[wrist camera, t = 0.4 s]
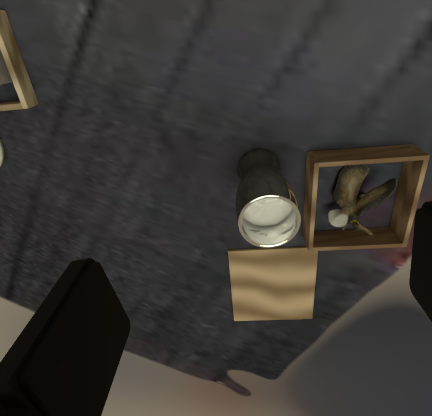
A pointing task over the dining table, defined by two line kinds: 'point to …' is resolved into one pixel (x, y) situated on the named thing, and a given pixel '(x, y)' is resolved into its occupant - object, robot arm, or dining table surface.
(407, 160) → the display tray
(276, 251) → the wooden board
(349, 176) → the eagle figurine
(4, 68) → the gable top carton
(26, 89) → the holder
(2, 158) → the coaster
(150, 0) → the dining table surface
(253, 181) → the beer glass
